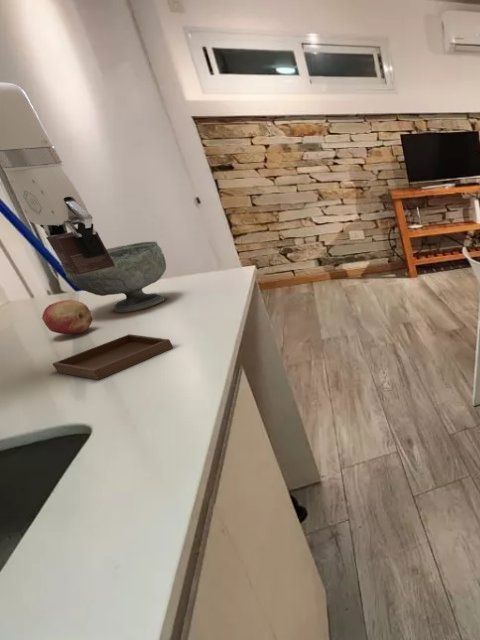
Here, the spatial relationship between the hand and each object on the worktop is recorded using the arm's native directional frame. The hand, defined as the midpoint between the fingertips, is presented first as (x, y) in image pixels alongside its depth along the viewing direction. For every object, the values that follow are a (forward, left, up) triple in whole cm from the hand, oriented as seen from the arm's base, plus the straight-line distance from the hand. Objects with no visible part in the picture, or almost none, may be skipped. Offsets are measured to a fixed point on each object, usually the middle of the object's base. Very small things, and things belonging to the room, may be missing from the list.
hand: (82, 254), depth 93 cm
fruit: (+2, +24, -21) cm, 32 cm away
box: (0, 0, -3) cm, 3 cm away
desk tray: (-5, -4, -20) cm, 21 cm away
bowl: (+18, +30, -21) cm, 41 cm away
